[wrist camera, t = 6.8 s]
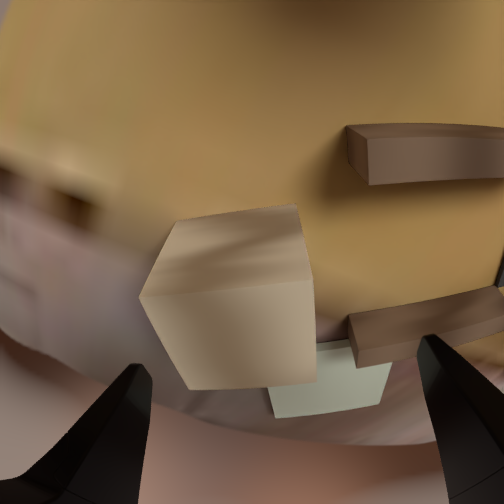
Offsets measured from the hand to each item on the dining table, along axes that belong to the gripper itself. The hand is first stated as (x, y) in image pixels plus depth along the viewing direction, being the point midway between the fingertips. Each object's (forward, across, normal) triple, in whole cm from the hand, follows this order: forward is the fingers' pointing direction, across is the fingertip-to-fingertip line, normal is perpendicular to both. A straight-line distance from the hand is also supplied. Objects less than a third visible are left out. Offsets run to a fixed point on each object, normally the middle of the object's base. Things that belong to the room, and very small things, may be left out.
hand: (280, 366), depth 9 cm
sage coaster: (+6, -2, +10) cm, 12 cm away
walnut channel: (+6, -8, 0) cm, 10 cm away
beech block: (+6, +1, 0) cm, 6 cm away
